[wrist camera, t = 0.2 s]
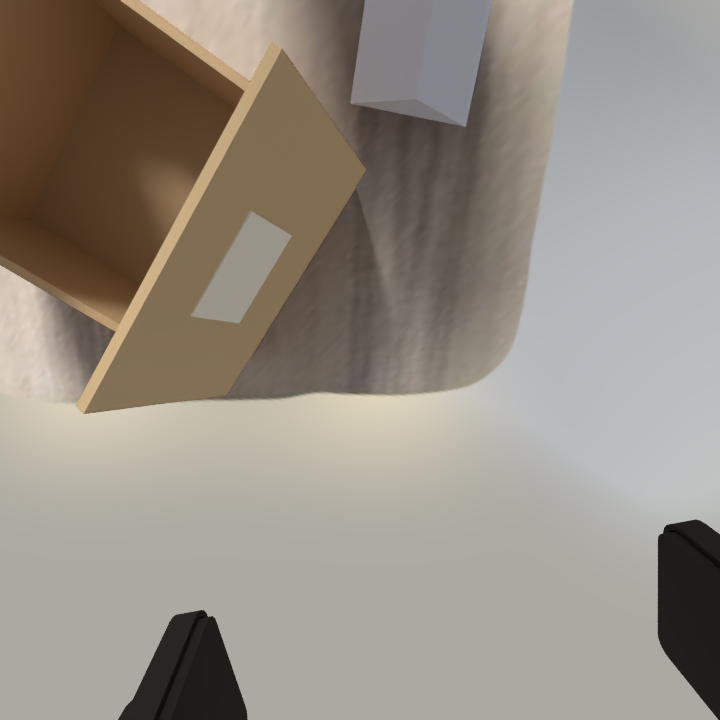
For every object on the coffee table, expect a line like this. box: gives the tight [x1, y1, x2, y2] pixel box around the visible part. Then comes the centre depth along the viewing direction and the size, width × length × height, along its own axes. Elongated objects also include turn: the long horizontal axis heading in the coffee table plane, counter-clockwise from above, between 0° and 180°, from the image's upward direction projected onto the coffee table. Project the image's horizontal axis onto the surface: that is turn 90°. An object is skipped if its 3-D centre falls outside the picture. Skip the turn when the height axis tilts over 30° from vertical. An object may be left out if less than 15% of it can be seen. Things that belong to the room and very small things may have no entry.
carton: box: [0, 0, 357, 361], centre depth 30 cm, size 18×22×10 cm
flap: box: [76, 43, 366, 414], centre depth 22 cm, size 18×10×1 cm
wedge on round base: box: [350, 0, 492, 127], centre depth 30 cm, size 9×7×13 cm
